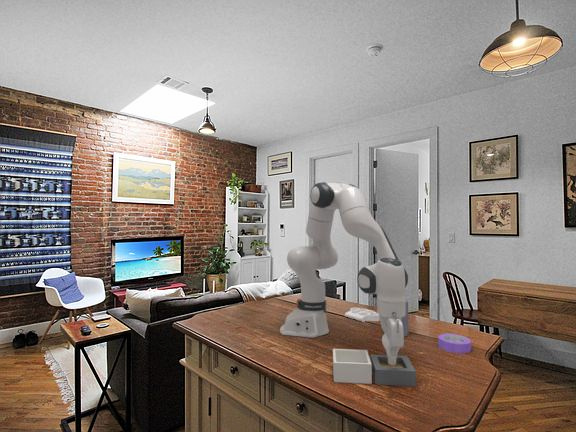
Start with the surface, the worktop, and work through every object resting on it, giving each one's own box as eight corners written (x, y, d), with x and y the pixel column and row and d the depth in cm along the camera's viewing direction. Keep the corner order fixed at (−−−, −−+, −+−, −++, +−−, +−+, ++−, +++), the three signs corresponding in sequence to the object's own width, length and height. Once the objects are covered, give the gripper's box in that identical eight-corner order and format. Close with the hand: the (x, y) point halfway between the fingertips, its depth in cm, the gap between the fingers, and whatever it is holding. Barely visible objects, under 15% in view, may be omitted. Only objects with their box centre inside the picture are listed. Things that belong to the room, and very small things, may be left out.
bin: (333, 382, 105) (333, 362, 105) (333, 366, 116) (332, 348, 116) (371, 383, 103) (371, 364, 103) (367, 367, 115) (367, 350, 115)
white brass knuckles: (340, 316, 178) (358, 312, 187) (367, 324, 164) (385, 319, 173) (340, 310, 179) (358, 306, 187) (366, 318, 164) (385, 313, 173)
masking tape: (475, 348, 133) (475, 338, 133) (465, 356, 125) (465, 346, 125) (444, 340, 141) (444, 331, 141) (433, 348, 133) (433, 338, 133)
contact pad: (382, 374, 105) (382, 371, 105) (378, 365, 112) (378, 361, 112) (406, 375, 104) (406, 372, 104) (401, 365, 111) (400, 362, 111)
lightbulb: (379, 362, 111) (379, 328, 111) (397, 361, 112) (397, 328, 112) (386, 370, 105) (385, 334, 105) (405, 369, 105) (404, 334, 106)
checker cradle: (375, 384, 103) (375, 369, 103) (370, 367, 115) (370, 354, 115) (416, 386, 102) (416, 371, 102) (406, 369, 114) (406, 355, 114)
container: (410, 338, 144) (409, 303, 144) (385, 336, 146) (384, 302, 146) (406, 330, 154) (406, 297, 154) (383, 329, 156) (383, 297, 156)
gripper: (409, 318, 98) (409, 365, 98) (394, 301, 118) (395, 341, 118) (387, 317, 99) (387, 365, 98) (376, 301, 119) (377, 340, 119)
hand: (391, 351), depth 108 cm, fingers closed on lightbulb, 5 cm apart
